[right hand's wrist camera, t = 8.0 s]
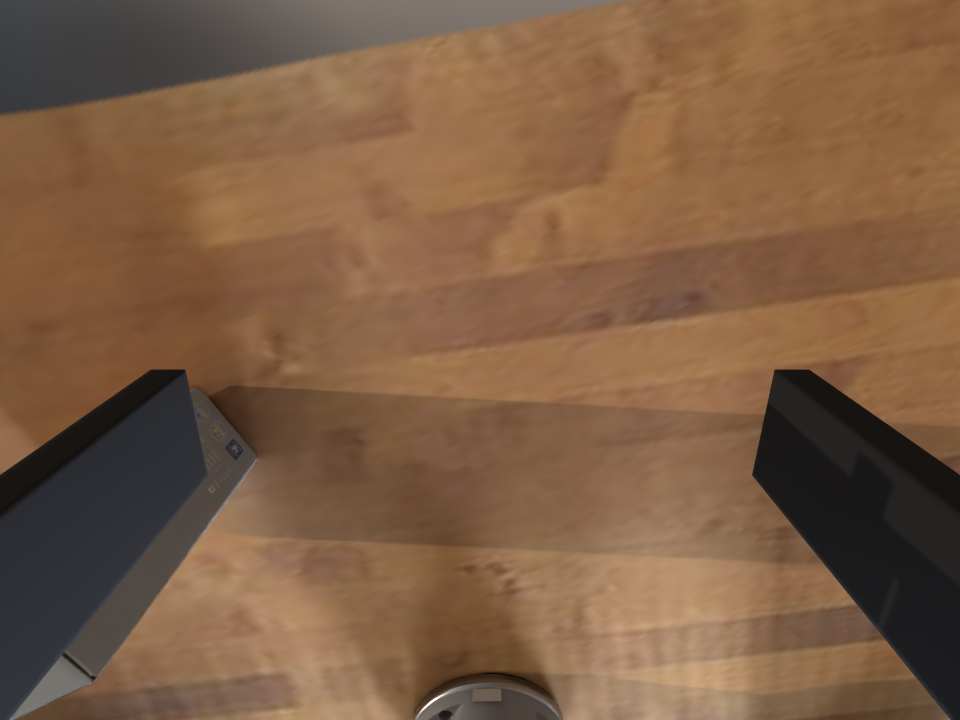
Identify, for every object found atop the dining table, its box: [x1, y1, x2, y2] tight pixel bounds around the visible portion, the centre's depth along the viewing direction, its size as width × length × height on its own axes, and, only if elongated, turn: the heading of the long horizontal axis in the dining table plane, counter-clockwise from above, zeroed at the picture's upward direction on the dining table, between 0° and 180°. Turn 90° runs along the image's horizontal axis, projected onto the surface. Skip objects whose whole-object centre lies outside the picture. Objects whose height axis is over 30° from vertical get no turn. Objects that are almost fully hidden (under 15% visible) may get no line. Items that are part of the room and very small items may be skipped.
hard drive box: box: [10, 387, 257, 720], centre depth 35 cm, size 16×8×20 cm, turn 120°
